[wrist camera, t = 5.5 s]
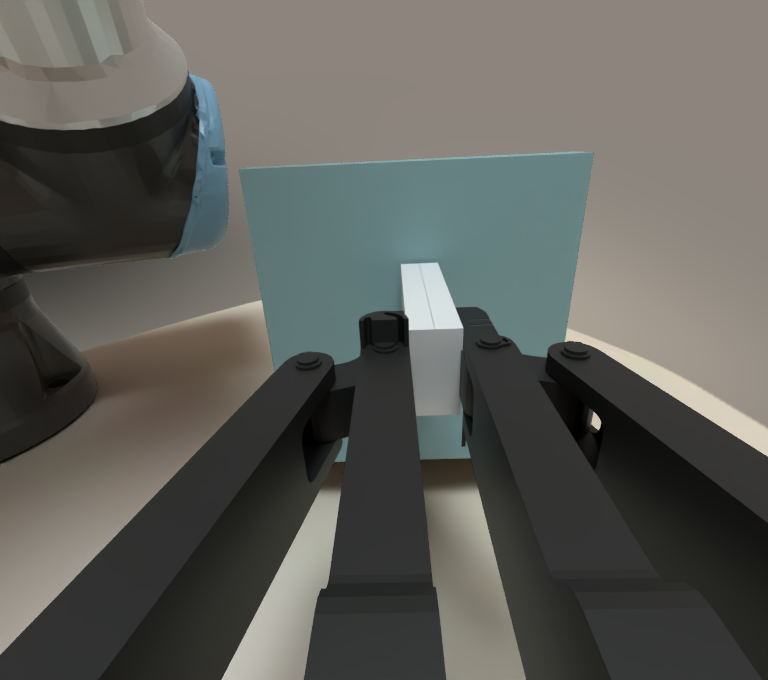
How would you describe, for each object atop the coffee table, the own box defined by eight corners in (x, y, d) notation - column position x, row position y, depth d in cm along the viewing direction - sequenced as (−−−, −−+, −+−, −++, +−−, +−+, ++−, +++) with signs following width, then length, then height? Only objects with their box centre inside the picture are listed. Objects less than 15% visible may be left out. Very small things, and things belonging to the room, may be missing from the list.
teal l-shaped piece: (546, 456, 21) (594, 152, 15) (291, 463, 21) (238, 169, 16) (478, 320, 37) (488, 147, 31) (332, 325, 38) (315, 155, 32)
